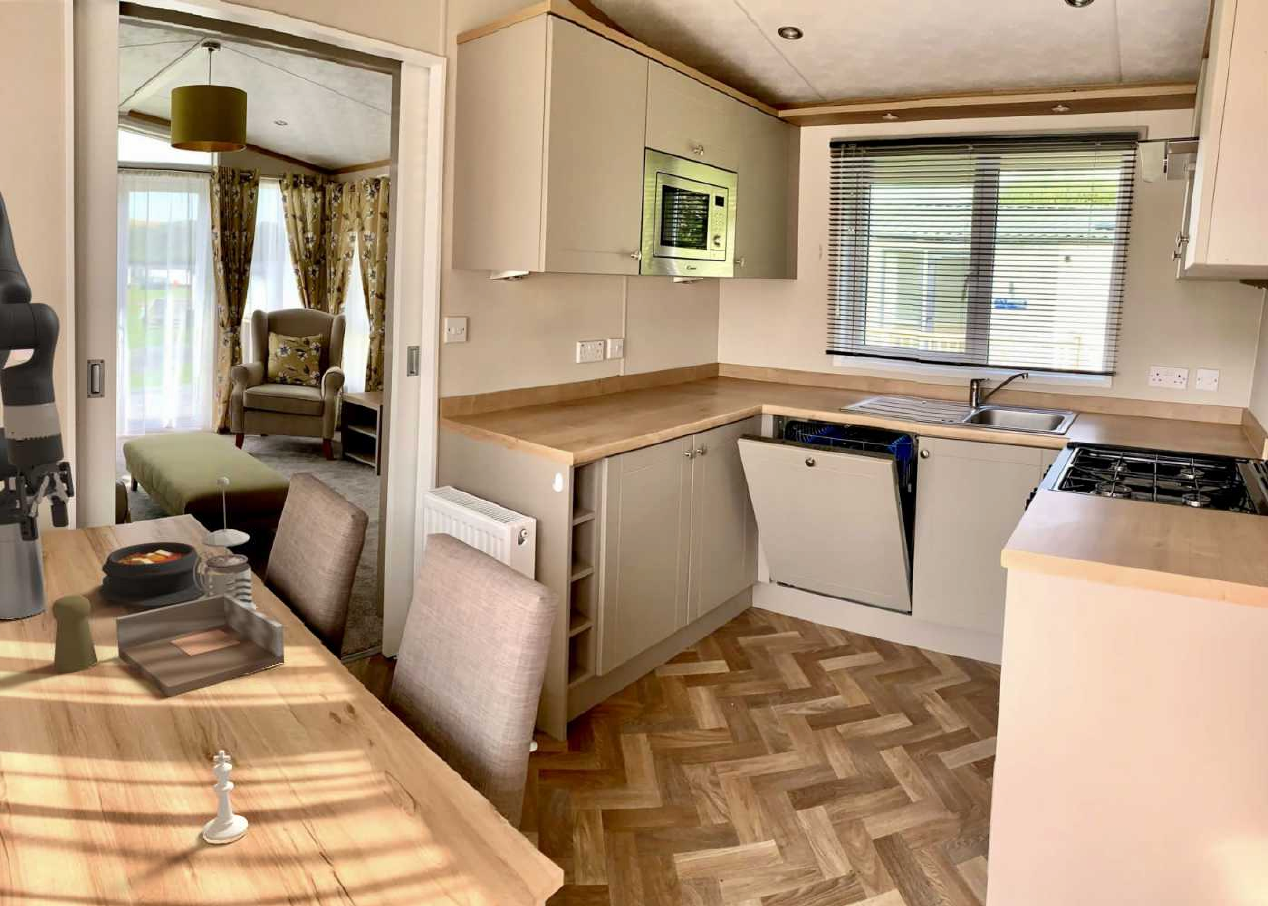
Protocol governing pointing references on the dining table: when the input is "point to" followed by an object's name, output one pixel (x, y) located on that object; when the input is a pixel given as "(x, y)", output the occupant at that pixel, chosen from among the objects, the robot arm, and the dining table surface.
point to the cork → (73, 635)
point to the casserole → (152, 575)
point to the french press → (226, 564)
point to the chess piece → (224, 805)
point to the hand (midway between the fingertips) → (46, 533)
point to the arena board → (199, 643)
